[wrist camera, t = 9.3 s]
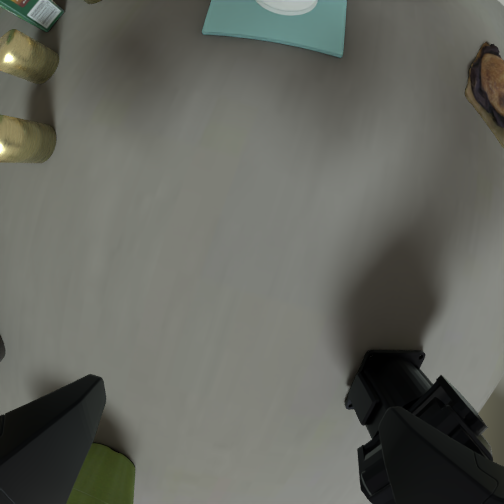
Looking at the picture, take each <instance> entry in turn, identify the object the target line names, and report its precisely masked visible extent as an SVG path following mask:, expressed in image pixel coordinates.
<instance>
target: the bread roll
mask: <svg viewBox="0 0 504 504" xmlns="http://www.w3.org/2000/svg"><path fill="white" fill-rule="evenodd" d="M469 73H470V74H469V78H468V84H467V87H466V89H465V96H466V98H467V99H468V101H469V102H470V103H471V104H472V105H473V107H474V108H475V109H476V110H477V112H478V113H479V114H480V116H481V117H482V118H483V120H484V121H485V122H486V124H487V125H488V126H489V128H490V129H491V131H492V132H493V134H494V135H495V136H496V138H497V139H498V141H499V142H500V144H501V145H502V147H503V148H504V61H503V60H502V58H501V57H500V55H499V50H498V48H497V47H496V46H494V44H491V45H490V46H489V44H488V43H486V42H485V43H484V44H483V46H482V47H481V49H480V51H479V52H478V54H477V57H476V59H475V61H474V63H472V65H471V68H470V70H469Z"/></svg>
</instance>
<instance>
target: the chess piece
mask: <svg viewBox="0 0 504 504" xmlns="http://www.w3.org/2000/svg"><path fill="white" fill-rule="evenodd" d="M256 2H257V3H258V4H259V5H260V6H262V7H263V8H265V9H266V10H268V11H271V12H273V13H276V14H280V15H288V16H294V15H301V14H305V13H307V12H309V11H311V10H312V9H313V8H314V7H315V6H316V4H317V2H318V0H256Z"/></svg>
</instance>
